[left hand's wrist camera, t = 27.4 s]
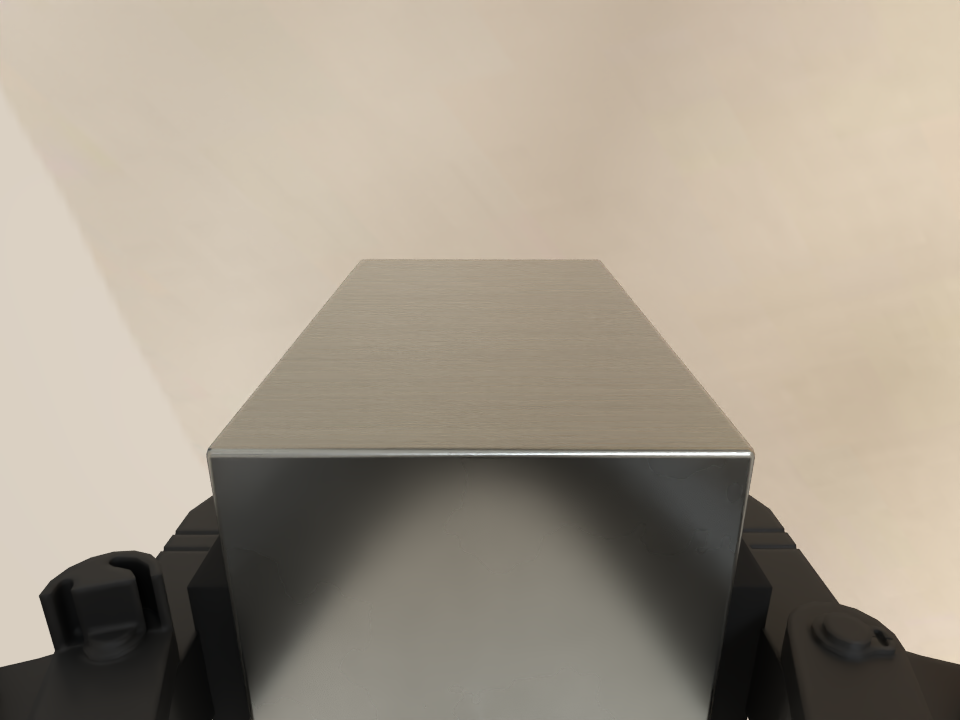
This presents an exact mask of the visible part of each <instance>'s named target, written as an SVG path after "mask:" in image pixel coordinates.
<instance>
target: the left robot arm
mask: <svg viewBox="0 0 960 720" xmlns="http://www.w3.org/2000/svg"><path fill="white" fill-rule="evenodd" d="M39 598H40V601H41V604H42V608H43V611H44V615H45V618H46V621H47V625H48V628H49V631H50V635H51V638H52V642H53V645H54V648H55V652H54V654H52V655H49V656H45V657H42V658H39V659H34V660H30V661H26V662H22V663H17V664H13V665H8V666H4V667H0V720H212V719H213V720H250V714H249V708H248V702H247V696H246V690H245V684H244V678H243V672H242V666H241V660H240V654H239V648H238V642H237V636H236V630H235V624H234V618H233V612H232V606H231V600H230V594H229V588H228V582H227V576H226V570H225V564H224V558H223V552H222V546H221V540H220V534H219V528H218V522H217V516H216V510H215V504H214V498H213V496H211V497H210V498H208V499H207V500H206V501H204V502H203V503H201V504H200V505H198V506H197V507H196V508H194V509H193V510H191V511H190V512H189V513H188V515H187V516H186V517H185V519H184V520H183V522H182V523H181V524H180V526H179V527H178V528H177V530H176V534H175V535H172V537H171V538H170V539H169V541H168V542H167V544H166V545H165V546H164V551H161V552H160V553H159V555H158V556H157V557H156V558H154V557H153V556H152V555H151V554H147V553H143V552H138V551H118V552H111V553H107V554H103V555H99V556H96V557H92V558H89V559H87V560H85V561H83V562H80V563H78V564H76V565H74V566H72V567H69V568H68V569H66V570H65V571H64V572H62V573H61V574H59V575H58V576H57V577H55V578H54V579H53V580H51V581H50V582H49V584H48V585H47V586H46V587H45V589H44V590H43V591H42V592H41V594H40V595H39ZM747 717H748V719H749V720H960V664H955V663H951V662H946V661H942V660H938V659H933V658H929V657H925V656H921V655H917V654H914V653H911V652H907V651H905V649H904V647H903V646H902V645H901V643H900V642H899V640H898V639H897V637H896V636H895V634H894V633H893V632H891V631H890V630H889V629H888V628H887V627H885V626H884V625H883V624H882V623H880V622H879V621H878V620H877V619H875V618H873V617H871V616H869V615H867V614H865V613H863V612H861V611H859V610H857V609H855V608H851V607H848V606H844V605H841V604H839V603H838V601H837V600H836V599H835V597H834V596H833V595H832V593H831V592H830V590H829V589H828V588H827V586H826V585H825V584H824V582H823V581H822V580H821V578H820V577H819V575H818V574H817V573H816V571H815V570H814V569H813V567H812V566H811V565H810V563H809V562H808V560H807V559H806V558H805V556H804V555H803V554H802V552H801V551H800V550H799V549H796V544H795V543H794V541H793V540H792V539H791V537H790V536H789V534H788V533H785V532H784V528H783V526H782V525H781V524H780V522H779V521H778V519H777V518H776V517H775V515H774V514H773V513H772V511H771V510H770V509H769V508H767V507H766V506H765V505H763V504H762V503H760V502H759V501H757V500H756V499H754V498H753V497H752V496H750V495H749V494H748V500H747V506H746V512H745V518H744V524H743V530H742V536H741V542H740V547H739V553H738V559H737V565H736V571H735V577H734V583H733V589H732V595H731V600H730V606H729V612H728V618H727V624H726V630H725V636H724V642H723V648H722V654H721V659H720V665H719V671H718V677H717V683H716V689H715V695H714V701H713V707H712V712H711V718H710V720H747Z"/></svg>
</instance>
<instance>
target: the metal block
mask: <svg viewBox="0 0 960 720" xmlns="http://www.w3.org/2000/svg"><path fill="white" fill-rule="evenodd" d="M206 455H207V462H208V468H209V474H210V480H211V486H212V492H213V498H214V504H215V510H216V516H217V522H218V528H219V534H220V540H221V546H222V552H223V558H224V564H225V570H226V576H227V582H228V588H229V594H230V600H231V606H232V612H233V618H234V624H235V630H236V636H237V642H238V648H239V654H240V660H241V666H242V672H243V678H244V684H245V690H246V696H247V702H248V708H249V714H250V720H710V718H711V712H712V707H713V701H714V695H715V689H716V683H717V677H718V671H719V665H720V659H721V654H722V648H723V642H724V636H725V630H726V624H727V618H728V612H729V606H730V600H731V595H732V589H733V583H734V577H735V571H736V565H737V559H738V553H739V547H740V542H741V536H742V530H743V524H744V518H745V512H746V506H747V500H748V494H749V488H750V483H751V477H752V471H753V465H754V459H755V453H754V450H753V448H752V447H751V446H750V445H749V443H748V442H747V441H746V440H745V438H744V437H743V436H742V435H741V433H740V432H739V431H738V430H737V429H736V427H735V426H734V425H733V424H732V422H731V421H730V420H729V419H728V417H727V416H726V415H725V414H724V413H723V411H722V410H721V409H720V408H719V406H718V405H717V404H716V403H715V401H714V400H713V399H712V398H711V397H710V395H709V394H708V393H707V392H706V390H705V389H704V388H703V387H702V385H701V384H700V383H699V382H698V380H697V379H696V378H695V377H694V376H693V374H692V373H691V372H690V371H689V369H688V368H687V367H686V366H685V364H684V363H683V362H682V361H681V360H680V358H679V357H678V356H677V355H676V353H675V352H674V351H673V350H672V348H671V347H670V346H669V345H668V344H667V342H666V341H665V340H664V339H663V337H662V336H661V335H660V334H659V332H658V331H657V330H656V329H655V328H654V326H653V325H652V324H651V323H650V321H649V320H648V319H647V318H646V316H645V315H644V314H643V313H642V312H641V310H640V309H639V308H638V307H637V305H636V304H635V303H634V302H633V300H632V299H631V298H630V297H629V296H628V294H627V293H626V292H625V291H624V289H623V288H622V287H621V286H620V284H619V283H618V282H617V281H616V279H615V278H614V277H613V276H612V275H611V273H610V272H609V271H608V270H607V268H606V267H605V266H604V265H603V263H602V262H601V261H600V260H361V261H360V262H359V263H358V264H357V266H356V267H355V268H354V269H353V270H352V272H351V273H350V274H349V275H348V277H347V278H346V279H345V280H344V282H343V283H342V284H341V285H340V287H339V288H338V289H337V290H336V291H335V293H334V294H333V295H332V296H331V298H330V299H329V300H328V301H327V303H326V304H325V305H324V306H323V308H322V309H321V310H320V311H319V312H318V314H317V315H316V316H315V317H314V319H313V320H312V321H311V322H310V324H309V325H308V326H307V327H306V328H305V330H304V331H303V332H302V333H301V335H300V336H299V337H298V338H297V340H296V341H295V342H294V343H293V345H292V346H291V347H290V348H289V349H288V351H287V352H286V353H285V354H284V356H283V357H282V358H281V359H280V361H279V362H278V363H277V364H276V366H275V367H274V368H273V369H272V370H271V372H270V373H269V374H268V375H267V377H266V378H265V379H264V380H263V382H262V383H261V384H260V385H259V386H258V388H257V389H256V390H255V391H254V393H253V394H252V395H251V396H250V398H249V399H248V400H247V401H246V403H245V404H244V405H243V406H242V407H241V409H240V410H239V411H238V412H237V414H236V415H235V416H234V417H233V419H232V420H231V421H230V422H229V423H228V425H227V426H226V427H225V428H224V430H223V431H222V432H221V433H220V435H219V436H218V437H217V438H216V440H215V441H214V442H213V443H212V444H211V446H210V447H209V448H208V451H207V454H206Z"/></svg>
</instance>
